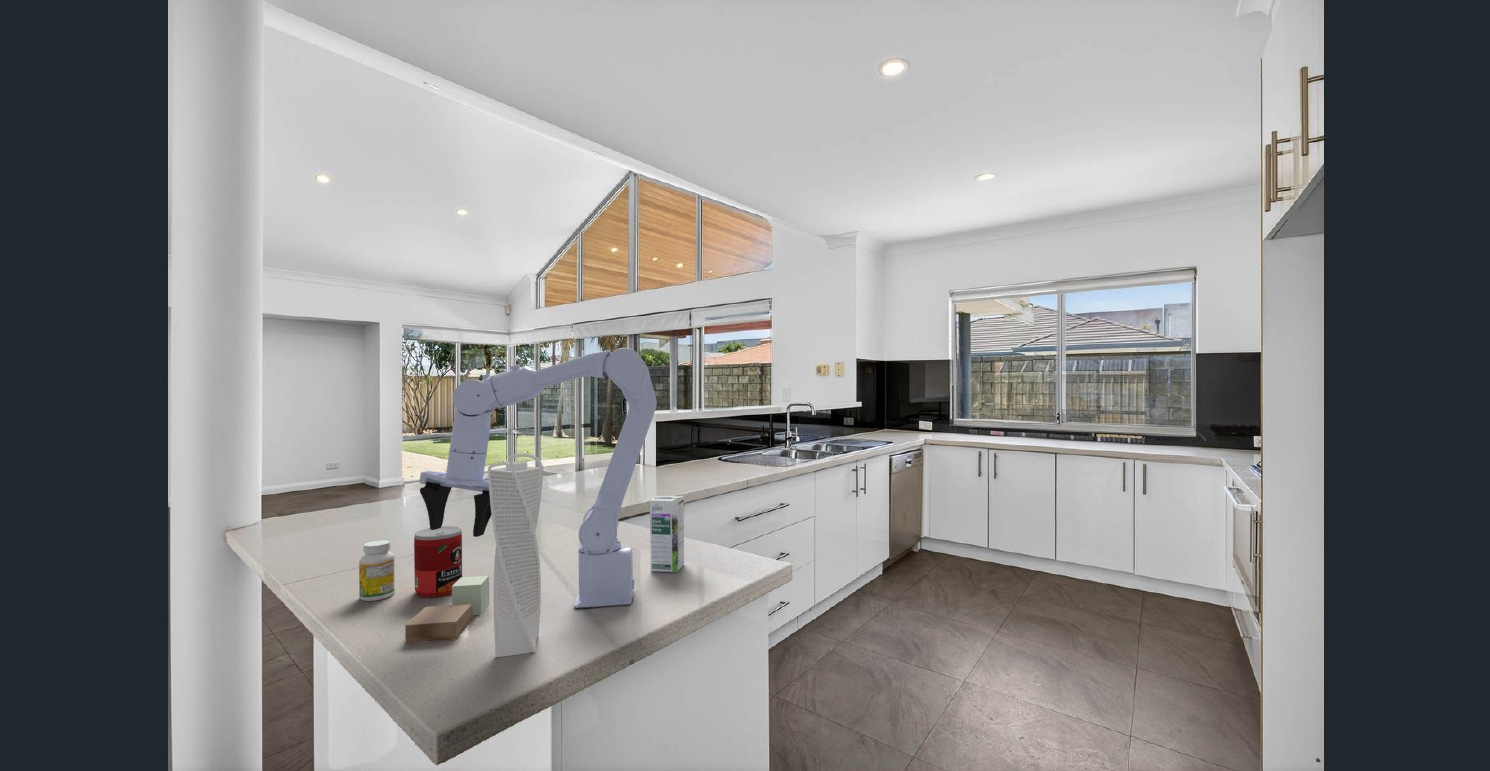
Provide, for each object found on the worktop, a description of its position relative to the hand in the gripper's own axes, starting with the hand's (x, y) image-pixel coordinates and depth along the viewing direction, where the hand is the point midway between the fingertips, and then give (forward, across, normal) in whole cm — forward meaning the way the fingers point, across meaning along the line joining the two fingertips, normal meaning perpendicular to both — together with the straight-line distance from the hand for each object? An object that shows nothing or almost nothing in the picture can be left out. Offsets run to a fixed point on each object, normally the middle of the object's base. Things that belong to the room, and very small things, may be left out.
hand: (457, 532), depth 94 cm
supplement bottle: (+16, -17, +6) cm, 24 cm away
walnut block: (+13, +4, -7) cm, 16 cm away
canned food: (+14, -8, +10) cm, 19 cm away
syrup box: (+8, +32, +24) cm, 41 cm away
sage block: (+13, +4, +1) cm, 13 cm away
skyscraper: (+12, +18, -12) cm, 25 cm away
